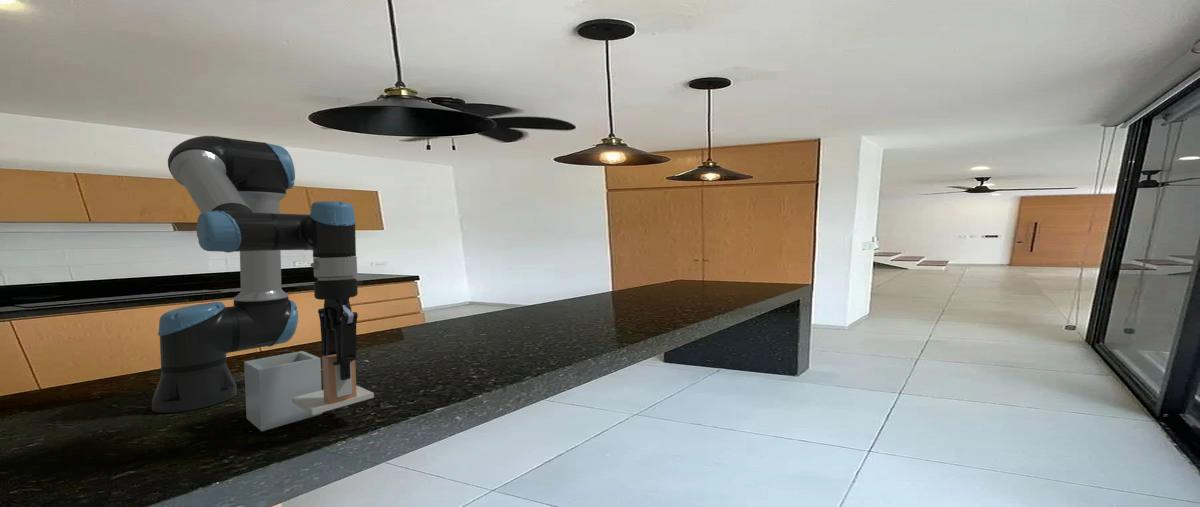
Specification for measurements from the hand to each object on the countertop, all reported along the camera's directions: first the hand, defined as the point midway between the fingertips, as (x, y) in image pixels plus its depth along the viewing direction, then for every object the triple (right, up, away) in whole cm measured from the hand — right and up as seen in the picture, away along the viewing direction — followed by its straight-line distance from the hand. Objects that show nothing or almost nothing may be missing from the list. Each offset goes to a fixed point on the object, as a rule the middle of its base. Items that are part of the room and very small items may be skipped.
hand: (340, 392), depth 89 cm
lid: (-3, -2, +2) cm, 4 cm away
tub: (-16, -7, +7) cm, 19 cm away
